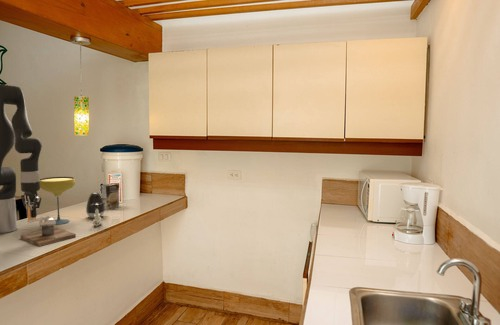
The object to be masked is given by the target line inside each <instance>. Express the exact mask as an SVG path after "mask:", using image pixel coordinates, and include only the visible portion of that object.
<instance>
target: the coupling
mask: <svg viewBox="0 0 500 325" xmlns="http://www.w3.org/2000/svg"><path fill="white" fill-rule="evenodd" d="M55 220H56V217H54V216H50V215H48V214H47V215H43V216H36V217H34V218H32V217H31V208H30V206H28V216H27V223H29V224H32V223H36V222H37V223H38V222H39V227H40V228H42V227H50V226H54V227H55V226H57V225H56V221H55Z"/></svg>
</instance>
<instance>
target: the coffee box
mask: <svg viewBox="0 0 500 325" xmlns="http://www.w3.org/2000/svg"><path fill="white" fill-rule="evenodd" d="M101 198H102V200H103V203H104V208H105V211H106V210H107V211H109V210H114V209H118V208H120V184H118V183H105V184H101Z"/></svg>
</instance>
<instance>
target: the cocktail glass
mask: <svg viewBox="0 0 500 325" xmlns="http://www.w3.org/2000/svg"><path fill="white" fill-rule="evenodd" d="M39 179H40V190H43V191H45V192H48V193H51V194H52V195H54V196H55V197H56V199H57V200H56V201H57V204H56V205H57V218H56V219H55V221H56V225H55V226H58V225H65V224H69V223H70V219H64V218H63V219H62V218H61V217H60V204H59V197H60V196H61V195H62V194H63V193H64V192H66V191H68V190H70V189H71V188H73V187H74V186H75V185H76V180H75V177H73V176H53V177H52V176H51V177H44V178H39Z"/></svg>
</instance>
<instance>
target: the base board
mask: <svg viewBox="0 0 500 325" xmlns="http://www.w3.org/2000/svg"><path fill="white" fill-rule="evenodd" d="M76 235H77V234H76V233H74V232H71V231H68V230H65V229H62V228H59V227H55V225H54V226H50V227H41V230H39V231H38V230H37V231H34V232H30V233H25V234H21V235H19V236H20V239H21V240H23V241H26V242H29V243H31V244H33V245H36V246H38V247H42V246H45V245H49V244H55V243H58V242H62V241H65V240H69V239H73V238H76Z"/></svg>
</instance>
